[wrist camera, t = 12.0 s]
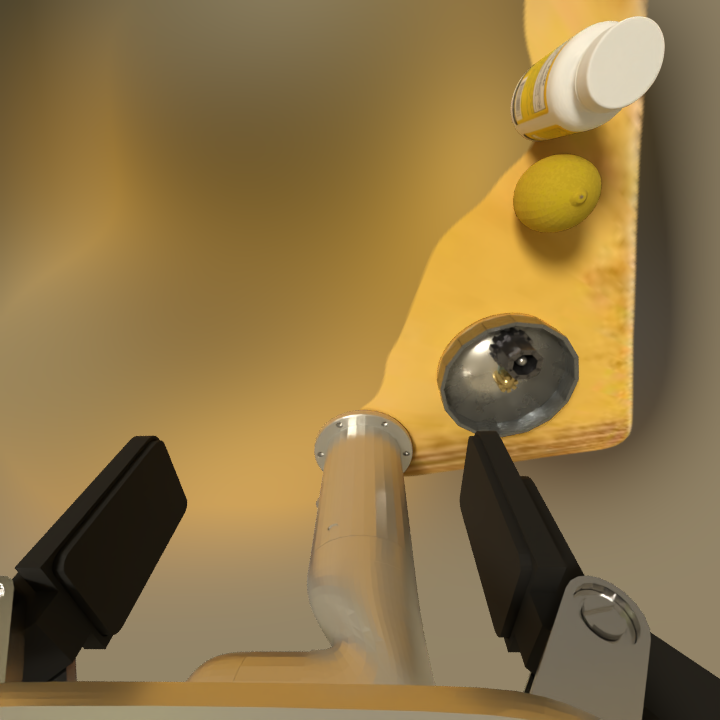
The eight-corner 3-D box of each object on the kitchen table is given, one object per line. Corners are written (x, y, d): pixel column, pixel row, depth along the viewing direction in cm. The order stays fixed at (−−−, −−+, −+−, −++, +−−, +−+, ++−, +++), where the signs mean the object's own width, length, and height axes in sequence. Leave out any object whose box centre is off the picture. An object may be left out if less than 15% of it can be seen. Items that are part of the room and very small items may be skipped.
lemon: (577, 170, 29) (643, 168, 22) (541, 234, 32) (590, 250, 25) (521, 146, 29) (571, 136, 22) (488, 213, 31) (523, 224, 24)
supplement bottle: (591, 102, 27) (696, 67, 19) (531, 157, 29) (600, 148, 20) (557, 38, 25) (654, -34, 17) (495, 101, 27) (554, 65, 19)
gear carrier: (508, 437, 43) (524, 466, 39) (413, 392, 40) (419, 418, 36) (592, 349, 37) (623, 372, 33) (488, 289, 34) (506, 305, 30)
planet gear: (524, 362, 37) (542, 383, 33) (486, 363, 37) (499, 383, 33) (532, 327, 35) (552, 345, 31) (492, 328, 35) (506, 346, 31)
